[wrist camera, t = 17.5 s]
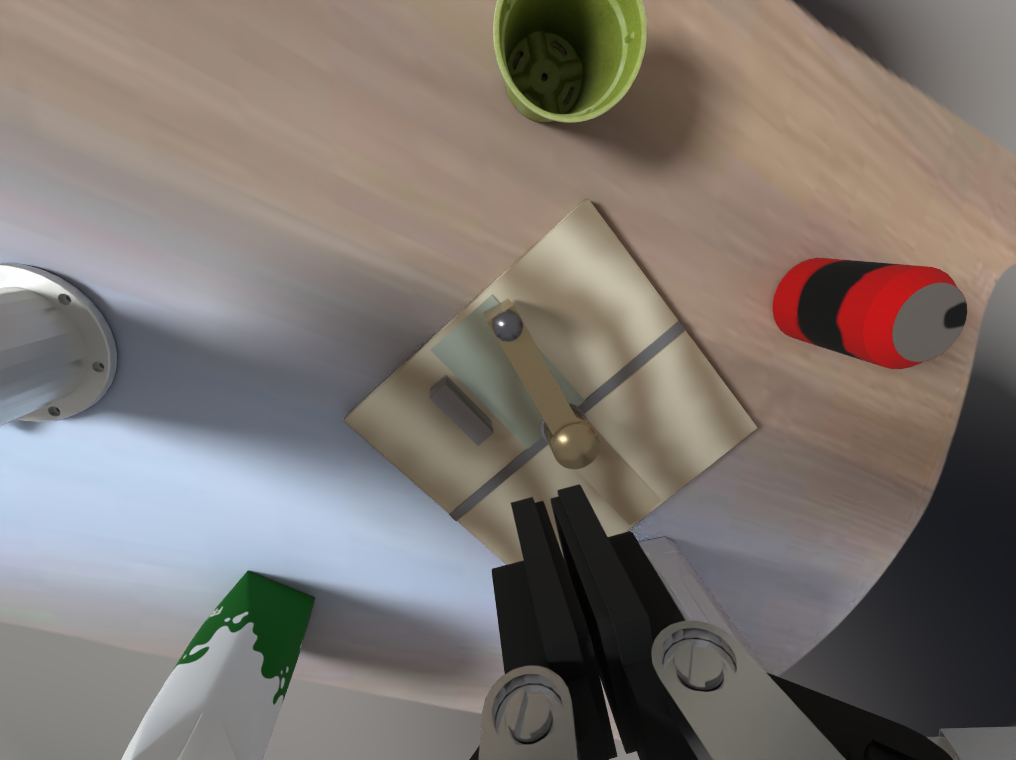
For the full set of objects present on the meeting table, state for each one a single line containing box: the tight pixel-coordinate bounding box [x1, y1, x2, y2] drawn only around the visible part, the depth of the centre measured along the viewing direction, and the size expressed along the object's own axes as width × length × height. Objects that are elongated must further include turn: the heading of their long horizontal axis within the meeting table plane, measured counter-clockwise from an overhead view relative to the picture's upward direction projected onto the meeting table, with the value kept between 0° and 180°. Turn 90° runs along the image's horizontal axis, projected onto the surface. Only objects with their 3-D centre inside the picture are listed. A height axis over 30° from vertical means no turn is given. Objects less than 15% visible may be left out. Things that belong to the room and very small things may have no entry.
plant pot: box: [493, 0, 647, 123], centre depth 32 cm, size 9×9×9 cm
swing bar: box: [483, 299, 600, 469], centre depth 39 cm, size 15×4×5 cm, turn 29°
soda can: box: [773, 258, 967, 369], centre depth 39 cm, size 8×8×12 cm
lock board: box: [343, 199, 757, 565], centre depth 44 cm, size 28×28×4 cm
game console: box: [638, 537, 768, 673], centre depth 46 cm, size 6×27×20 cm, turn 8°
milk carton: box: [122, 571, 315, 760], centre depth 38 cm, size 9×9×20 cm
